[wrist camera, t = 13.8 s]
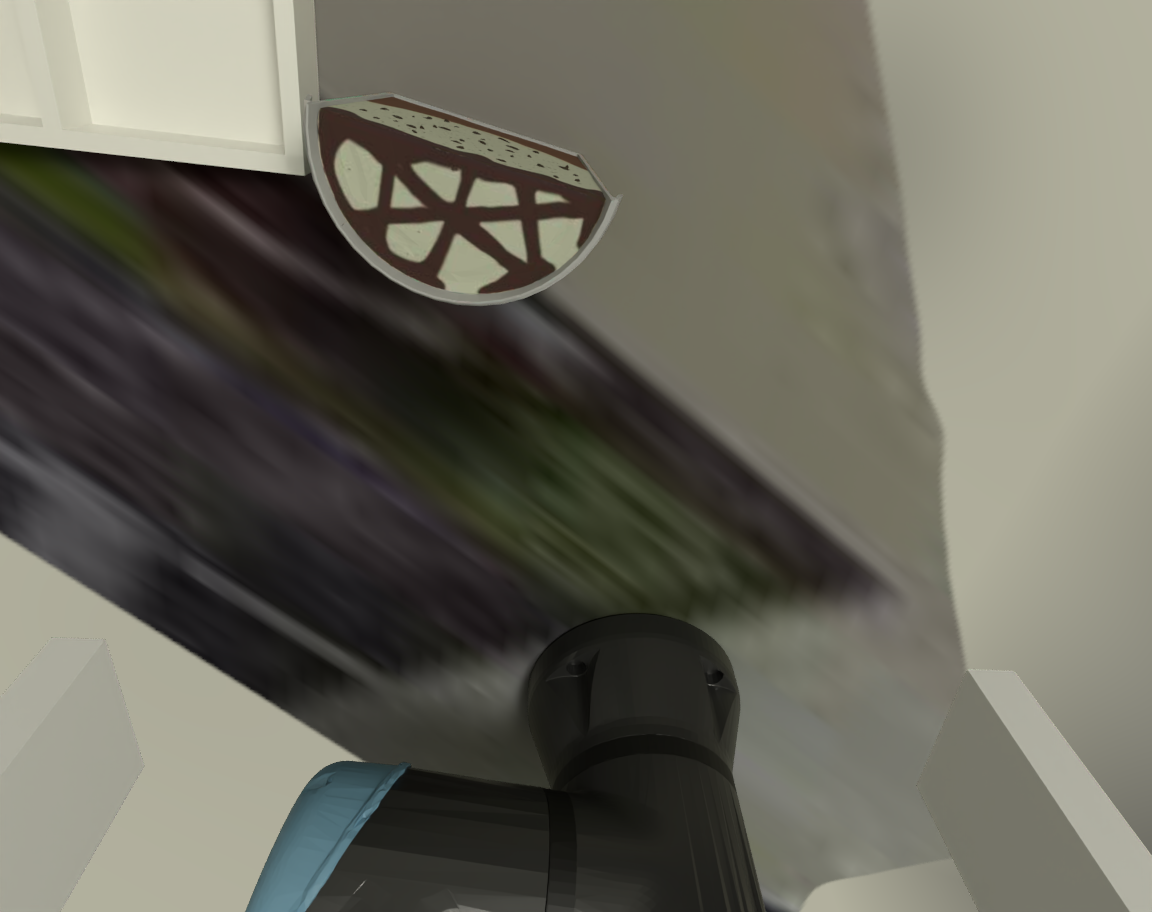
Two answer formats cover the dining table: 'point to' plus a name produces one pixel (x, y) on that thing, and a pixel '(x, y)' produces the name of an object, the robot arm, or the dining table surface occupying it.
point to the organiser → (161, 79)
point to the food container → (452, 198)
